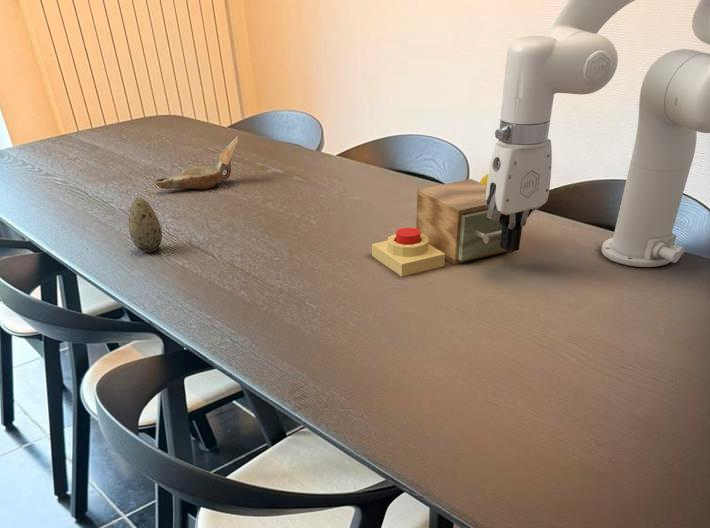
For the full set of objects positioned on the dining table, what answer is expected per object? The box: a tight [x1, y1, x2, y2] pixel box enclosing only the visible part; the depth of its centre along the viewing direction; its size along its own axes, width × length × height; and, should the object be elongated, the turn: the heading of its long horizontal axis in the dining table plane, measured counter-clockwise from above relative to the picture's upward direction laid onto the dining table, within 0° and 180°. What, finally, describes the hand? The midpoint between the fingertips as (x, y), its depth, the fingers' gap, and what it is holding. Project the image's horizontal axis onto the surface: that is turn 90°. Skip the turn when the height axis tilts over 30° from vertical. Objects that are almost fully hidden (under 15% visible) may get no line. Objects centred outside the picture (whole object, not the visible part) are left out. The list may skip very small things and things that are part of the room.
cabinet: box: [415, 178, 508, 265], centre depth 125 cm, size 14×12×10 cm
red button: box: [395, 227, 421, 245], centre depth 121 cm, size 4×4×2 cm
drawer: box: [458, 209, 508, 261], centre depth 122 cm, size 17×11×8 cm, turn 27°
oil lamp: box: [154, 135, 239, 190], centre depth 158 cm, size 9×21×10 cm, turn 114°
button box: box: [371, 233, 446, 277], centre depth 122 cm, size 11×9×4 cm
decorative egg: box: [128, 197, 163, 253], centre depth 128 cm, size 6×6×10 cm
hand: (509, 248), depth 116 cm, fingers closed
